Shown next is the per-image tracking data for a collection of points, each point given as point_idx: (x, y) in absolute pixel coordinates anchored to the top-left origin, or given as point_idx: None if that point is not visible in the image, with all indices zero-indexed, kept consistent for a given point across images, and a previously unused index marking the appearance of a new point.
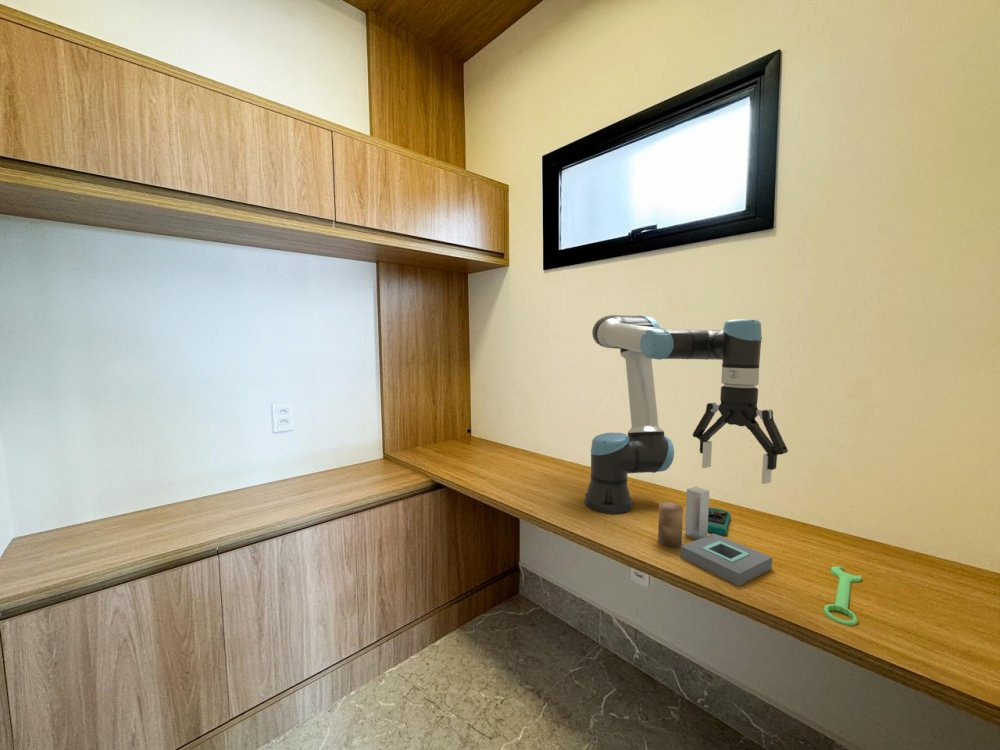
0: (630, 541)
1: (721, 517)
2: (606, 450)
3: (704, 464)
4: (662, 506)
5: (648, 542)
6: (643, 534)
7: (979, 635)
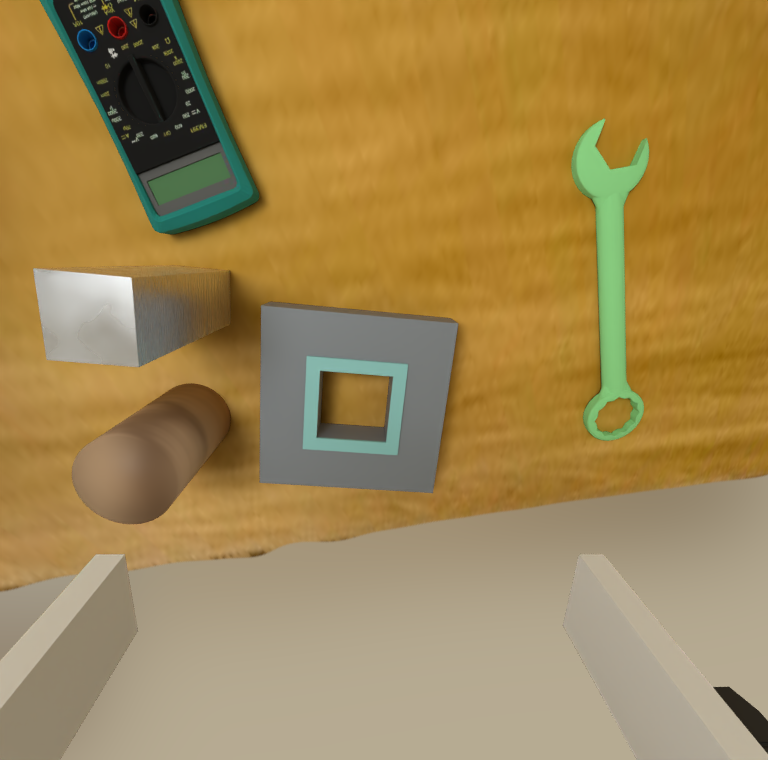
0: None
1: (167, 69)
2: None
3: (114, 662)
4: (109, 512)
5: None
6: None
7: None
